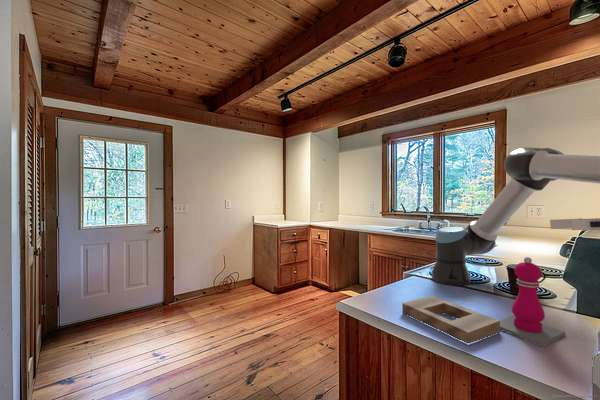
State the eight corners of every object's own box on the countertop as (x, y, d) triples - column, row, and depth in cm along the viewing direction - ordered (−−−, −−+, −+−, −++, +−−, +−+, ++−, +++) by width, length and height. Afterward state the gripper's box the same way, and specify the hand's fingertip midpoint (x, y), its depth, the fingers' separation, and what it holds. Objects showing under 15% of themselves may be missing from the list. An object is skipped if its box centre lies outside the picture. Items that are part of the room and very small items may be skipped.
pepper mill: (510, 319, 85) (510, 253, 84) (541, 325, 81) (541, 255, 81) (513, 330, 79) (513, 258, 78) (547, 336, 75) (547, 261, 74)
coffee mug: (504, 292, 110) (504, 267, 110) (508, 287, 116) (508, 262, 116) (543, 300, 102) (543, 272, 101) (546, 294, 108) (546, 268, 107)
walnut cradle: (402, 313, 92) (402, 303, 92) (431, 305, 99) (431, 295, 99) (468, 345, 73) (468, 332, 73) (499, 333, 79) (499, 320, 79)
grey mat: (492, 326, 82) (492, 323, 82) (515, 318, 88) (515, 315, 88) (542, 346, 72) (542, 342, 72) (565, 335, 77) (565, 331, 77)
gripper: (720, 239, 58) (585, 241, 67) (638, 234, 81) (545, 235, 90) (714, 203, 59) (580, 209, 68) (634, 208, 82) (542, 212, 90)
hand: (560, 224), depth 79 cm, fingers open, 13 cm apart
